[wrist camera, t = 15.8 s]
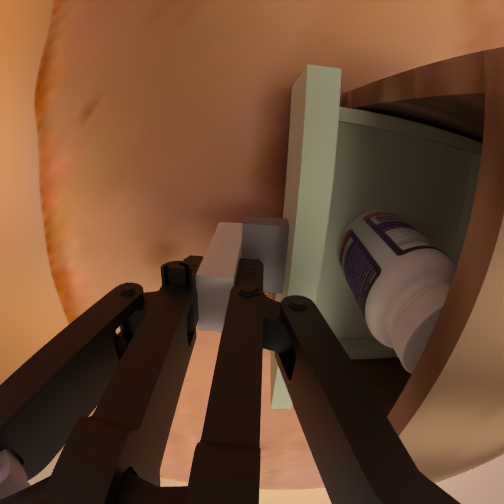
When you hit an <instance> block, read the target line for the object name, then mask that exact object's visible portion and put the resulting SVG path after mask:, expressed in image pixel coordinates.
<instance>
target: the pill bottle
mask: <svg viewBox="0 0 504 504" xmlns="http://www.w3.org/2000/svg"><path fill="white" fill-rule="evenodd" d="M338 261H339V265H340V268H341V270H342V272H343V275H344V277H345V279H346V281H347V283H348V285H349V287H350V289H351V291H352V293H353V295H354V297H355V300H356V302H357V304H358V306H359V308H360V310H361V313H362V315H363V317H364V319H365V321H366V324H367V326H368V328H369V329H370V331H371V333H372V334H373V336H374V337H375V338H376V339H377V340H378V341H379V342H380V343H382V344H383V345H385V346H387V347H390V348H393V349H394V350H395V352H396V354H397V356H398V358H399V359H400V361H401V363H402V365H403V367H404V368H405V370H406V371H408V372H409V373H411V374H412V373H413V371H414V369H415V367H416V365H417V363H418V361H419V359H420V357H421V355H422V353H423V351H424V349H425V347H426V345H427V343H428V340H429V338H430V336H431V334H432V332H433V329H434V327H435V325H436V322H437V320H438V317H439V315H440V313H441V310H442V307H443V305H444V302H445V300H446V297H447V294H448V292H449V289H450V286H451V283H452V280H453V277H454V274H455V271H456V268H457V265H456V264H455V262H454V261H453V260H452V259H451V258H450V257H449V256H448V255H447V254H446V253H444V252H443V251H442V250H441V249H440V248H438V247H437V246H436V245H435V244H434V243H432V242H431V241H430V240H429V239H427V238H426V237H425V236H424V235H423V234H421V233H420V232H419V231H418V230H416V229H415V228H414V227H412V226H411V225H410V224H408V223H407V222H406V221H405V220H403V219H402V218H400V217H399V216H397V215H395V214H393V213H391V212H388V211H383V210H376V211H370V212H367V213H365V214H362V215H360V216H359V217H357V218H356V219H354V220H353V221H352V222H351V223H350V224H349V225H348V226H347V228H346V229H345V231H344V232H343V234H342V236H341V239H340V241H339V245H338Z"/></svg>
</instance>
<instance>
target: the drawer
mask: <svg viewBox="0 0 504 504" xmlns="http://www.w3.org/2000/svg"><path fill="white" fill-rule="evenodd" d="M340 88H341V69H339V68H333V67H326V66H319V65H311V64H307V65H306V67H305V68H304V70H303V71H302V73H301V74H300V76H299V77H298V79H297V80H296V82H295V83H294V85H293V86H292V94H291V112H290V128H289V144H288V158H287V172H286V185H285V198H284V210H283V218H271V217H255V216H244V221H243V231H242V258H246V259H260V261H261V262H262V263H263V264H264V273H263V292H266V293H276V296H275V301H278V302H281V301H282V300H283V298H285V297H287V296H291V295H301V296H305V297H307V298H309V299H311V300H312V301H313V302H314V303H315V305H316V306H317V308H318V309H319V311H320V312H321V314H322V315H323V317H324V319H325V320H326V322H327V323H328V325H329V326H330V328H331V329H332V331H333V332H334V334H335V336H336V337H337V339H338V340H339V342H340V343H341V345H342V346H343V348H344V350H345V351H346V353H347V354H348V356H349V357H350V359H351V360H352V359H378V358H395V357H398V356H397V354H396V352H395V350H394V349H393V348H390V347H387V346H385V345H383V344H382V343H380V342H379V341H378V340H377V339H376V338H375V337H374V336H373V334H372V333H371V331H370V329H369V328H368V326H367V324H366V321H365V319H364V317H363V315H362V313H361V310H360V308H359V306H358V304H357V302H356V300H355V297H354V295H353V293H352V291H351V289H350V287H349V285H348V283H347V281H346V279H345V277H344V275H343V272H342V270H341V268H340V265H339V261H338V245H339V241H340V239H341V236H342V234H343V232H344V231H345V229H346V228H347V226H348V225H349V224H350V223H351V222H352V221H353V220H354V219H356V218H357V217H359V216H360V215H362V214H365V213H367V212H370V211H376V210H383V211H388V212H391V213H393V214H395V215H397V216H399V217H400V218H402V219H403V220H405V221H406V222H407V223H408V224H410V225H411V226H412V227H414V228H415V229H416V230H418V231H419V232H420V233H421V234H423V235H424V236H425V237H426V238H427V239H429V240H430V241H431V242H432V243H434V244H435V245H436V246H437V247H438V248H440V249H441V250H442V251H443V252H444V253H446V254H447V255H448V256H449V257H450V258H451V259H452V260H453V261H454V262H455V264H456V265H458V262H459V258H460V255H461V252H462V248H463V245H464V241H465V237H466V233H467V230H468V226H469V221H470V217H471V213H472V208H473V203H474V198H475V193H476V187H477V182H478V175H479V169H480V161H481V153H482V144H483V143H481V142H478V141H475V140H472V139H470V138H467V137H464V136H461V135H458V134H455V133H452V132H448V131H445V130H442V129H439V128H435V127H432V126H428V125H424V124H421V123H417V122H413V121H409V120H405V119H401V118H397V117H392V116H388V115H383V114H378V113H373V112H368V111H362V110H357V109H351V108H345V107H339V106H340ZM292 405H293V403H292V401H291V398H290V396H289V393H288V390H287V388H286V385H285V382H284V380H283V377H282V374H281V372H280V369H279V366H278V364H277V361H276V358H275V354H274V351H271V409H292Z"/></svg>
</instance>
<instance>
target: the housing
mask: <svg viewBox="0 0 504 504" xmlns="http://www.w3.org/2000/svg"><path fill="white" fill-rule="evenodd" d="M346 108H351V109H357V110H362V111H368V112H373V113H378V114H383V115H388V116H392V117H397V118H401V119H405V120H409V121H413V122H417V123H421V124H424V125H428V126H432V127H435V128H439V129H442V130H445V131H448V132H452V133H455V134H458V135H461V136H464V137H467V138H470V139H472V140H475V141H478V142H481V143H483V144H482V153H481V161H480V169H479V175H478V182H477V187H476V193H475V198H474V203H473V208H472V213H471V217H470V221H469V226H468V230H467V233H466V237H465V241H464V245H463V248H462V252H461V255H460V258H459V262H458V265H457V268H456V271H455V274H454V277H453V280H452V283H451V286H450V289H449V292H448V294H447V297H446V300H445V302H444V305H443V307H442V310H441V313H440V315H439V317H438V320H437V322H436V325H435V327H434V329H433V332H432V334H431V336H430V338H429V340H428V343H427V345H426V347H425V349H424V351H423V353H422V355H421V357H420V359H419V361H418V363H417V365H416V367H415V369H414V371H413V373H412V374H411V373H409V372H408V371H406V370H405V368H404V367H403V365H402V363H401V361H400V359H399V358H398V357H395V358H378V359H352V362H353V364H354V365H355V367H356V368H357V370H358V372H359V373H360V375H361V376H362V378H363V379H364V381H365V383H366V384H367V386H368V387H369V389H370V391H371V392H372V394H373V395H374V397H375V399H376V400H377V402H378V403H379V405H380V407H381V408H382V410H383V412H384V413H385V415H386V416H387V418H388V420H389V421H390V423H391V425H392V426H393V428H394V430H395V431H396V433H397V435H398V436H399V438H400V440H401V441H402V443H403V444H404V446H405V448H406V450H407V451H408V453H409V455H410V456H411V458H412V460H413V461H414V463H415V465H416V466H417V468H418V470H419V471H420V472H421V473H422V474H424V475H425V476H426V477H427V478H428V479H430V480H431V481H432V482H433V483H436V482H439V481H442V480H445V479H448V478H450V477H453V476H456V475H458V474H461V473H463V472H466V471H468V470H471V469H473V468H475V467H478V466H480V465H482V464H484V463H486V462H488V461H491V460H493V459H495V458H497V457H499V456H501V455H503V454H504V47H502V48H496V49H491V50H485V51H481V52H476V53H471V54H467V55H463V56H458V57H454V58H450V59H447V60H443V61H439V62H435V63H432V64H428V65H425V66H421V67H418V68H415V69H412V70H408V71H405V72H402V73H399V74H396V75H393V76H390V77H387V78H384V79H381V80H379V81H376V82H373V83H370V84H368V85H365V86H362V87H359V88H357V89H354V90H352V91H349V92H347V103H346Z"/></svg>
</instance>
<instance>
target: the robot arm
mask: <svg viewBox="0 0 504 504" xmlns="http://www.w3.org/2000/svg"><path fill="white" fill-rule="evenodd" d="M242 231H243V223H229V222H219V224H218V227H217V229H216V231H215V233H214V235H213V237H212V240H211V242H210V244H209V246H208V249H207V251H206V253H205V255H204V256H191V255H190V256H189V257H187V258H186V259H184V261H172V262H168V263H165V264H163V265H162V266H161V276H162V286H161V288H160V290H159V291H156V292H146V293H144V292H143V287H142V286H141V285H139V284H137V283H124V284H121V285H119V286H117V287H115V288H114V289H113V290H112V291H110V292H109V293H108V294H106V295H105V296H104V297H103V298H101V299H100V300H99V301H98V302H96V303H95V304H94V305H93V306H91V307H90V308H89V309H88V310H86V311H85V312H84V313H83V314H81V315H80V316H79V317H78V318H77V319H75V320H74V321H73V322H72V323H70V324H69V325H68V326H67V327H66V328H64V329H63V330H62V331H61V332H60V333H59V334H57V335H56V336H55V337H54V338H53V339H51V340H50V341H49V342H48V343H47V344H46V345H44V346H43V347H42V348H41V349H40V350H39V351H38V352H37V353H35V354H34V355H33V356H32V357H31V358H30V359H28V360H27V361H26V362H25V363H24V364H23V365H22V366H21V367H20V368H18V369H17V370H16V371H15V372H14V373H13V374H12V375H11V376H10V377H9V378H8V379H6V380H5V381H4V382H3V383H2V384H1V385H0V504H259V481H260V445H259V444H260V415H261V385H262V351H263V348H264V349H267V350H271V351H274V354H275V358H276V361H277V364H278V366H279V369H280V372H281V374H282V377H283V380H284V382H285V385H286V388H287V390H288V393H289V396H290V398H291V401H292V403H293V406H294V409H295V411H296V414H297V416H298V419H299V422H300V424H301V427H302V429H303V432H304V435H305V437H306V440H307V442H308V445H309V447H310V450H311V453H312V455H313V458H314V460H315V463H316V465H317V468H318V470H319V473H320V475H321V478H322V480H323V483H324V485H325V488H326V490H327V493H328V495H329V498H330V500H331V503H332V504H460V503H459V502H458V501H457V500H455V499H454V498H453V497H451V496H450V495H449V494H447V493H446V492H445V491H443V490H442V489H441V488H440V487H439V486H437V485H436V484H435V483H433V482H432V481H431V480H430V479H428V478H427V477H426V476H425V475H424V474H422V473H421V472H420V471H419V470H418V468H417V466H416V465H415V463H414V461H413V460H412V458H411V456H410V455H409V453H408V451H407V450H406V448H405V446H404V444H403V443H402V441H401V440H400V438H399V436H398V435H397V433H396V431H395V430H394V428H393V426H392V425H391V423H390V421H389V420H388V418H387V416H386V415H385V413H384V412H383V410H382V408H381V407H380V405H379V403H378V402H377V400H376V399H375V397H374V395H373V394H372V392H371V391H370V389H369V387H368V386H367V384H366V383H365V381H364V379H363V378H362V376H361V375H360V373H359V372H358V370H357V368H356V367H355V365H354V364H353V362H352V360H351V359H350V357H349V356H348V354H347V353H346V351H345V350H344V348H343V346H342V345H341V343H340V342H339V340H338V339H337V337H336V336H335V334H334V332H333V331H332V329H331V328H330V326H329V325H328V323H327V322H326V320H325V319H324V317H323V315H322V314H321V312H320V311H319V309H318V308H317V306H316V305H315V303H314V302H313V301H312V300H311V299H309V298H307V297H305V296H301V295H291V296H287V297H285V298H283V300H282V301H281V302H278V301H274V300H272V299H270V298H268V297H267V296H266V295H265V294H264V292H263V273H264V264H263V263H262V262H261V261H260V259H246V258H242ZM197 322H198V330H205V331H215V332H222V335H221V340H220V345H219V350H218V355H217V360H216V365H215V370H214V375H213V380H212V385H211V391H210V396H209V401H208V406H207V411H206V416H205V422H204V427H203V432H202V437H201V440H200V442H199V443H197V445H196V448H195V452H194V457H193V462H192V467H191V472H190V477H189V483H188V486H183V487H160V467H161V463H162V459H163V455H164V451H165V447H166V443H167V440H168V436H169V432H170V428H171V425H172V421H173V417H174V414H175V410H176V406H177V403H178V399H179V396H180V392H181V388H182V385H183V381H184V378H185V374H186V371H187V367H188V364H189V361H190V357H191V354H192V350H193V347H194V343H195V340H196V326H197ZM119 326H120V330H121V331H120V332H119V333H118V334H116V332H115V331H116V329H117V328H118V327H119ZM97 405H98V406H97ZM96 406H97V408H96ZM95 408H96V410H95V412H94V413H93V415H92V416H90V417H88V416H89V415H90V414H91V412H92V411H93V410H94V409H95ZM64 445H65V446H64ZM63 446H64V448H63V450H62V452H61V454H60V457H59V459H58V461H57V463H56V465H55V468H54V470H53V472H52V475H51V476H49V477H47V478H45V479H43V480H41V481H40V482H37V483H35V484H33V485H31V486H30V484H29V483H28V480H30V479H31V478H33V477H34V476H36V475H37V474H38V473H39V472H41V471H42V470H43V469H44V468H45V467H46V466H47V465H48V464H49V463H50V462H51V461H52V459H53V458H54V457H55V456H56V454H57V453H58V452H59V451H60V450H61V449H62V447H63Z"/></svg>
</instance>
